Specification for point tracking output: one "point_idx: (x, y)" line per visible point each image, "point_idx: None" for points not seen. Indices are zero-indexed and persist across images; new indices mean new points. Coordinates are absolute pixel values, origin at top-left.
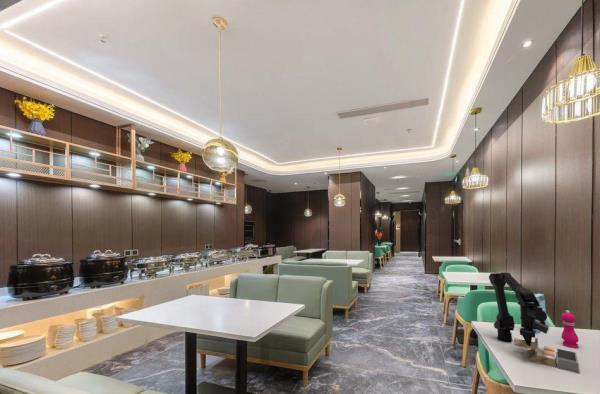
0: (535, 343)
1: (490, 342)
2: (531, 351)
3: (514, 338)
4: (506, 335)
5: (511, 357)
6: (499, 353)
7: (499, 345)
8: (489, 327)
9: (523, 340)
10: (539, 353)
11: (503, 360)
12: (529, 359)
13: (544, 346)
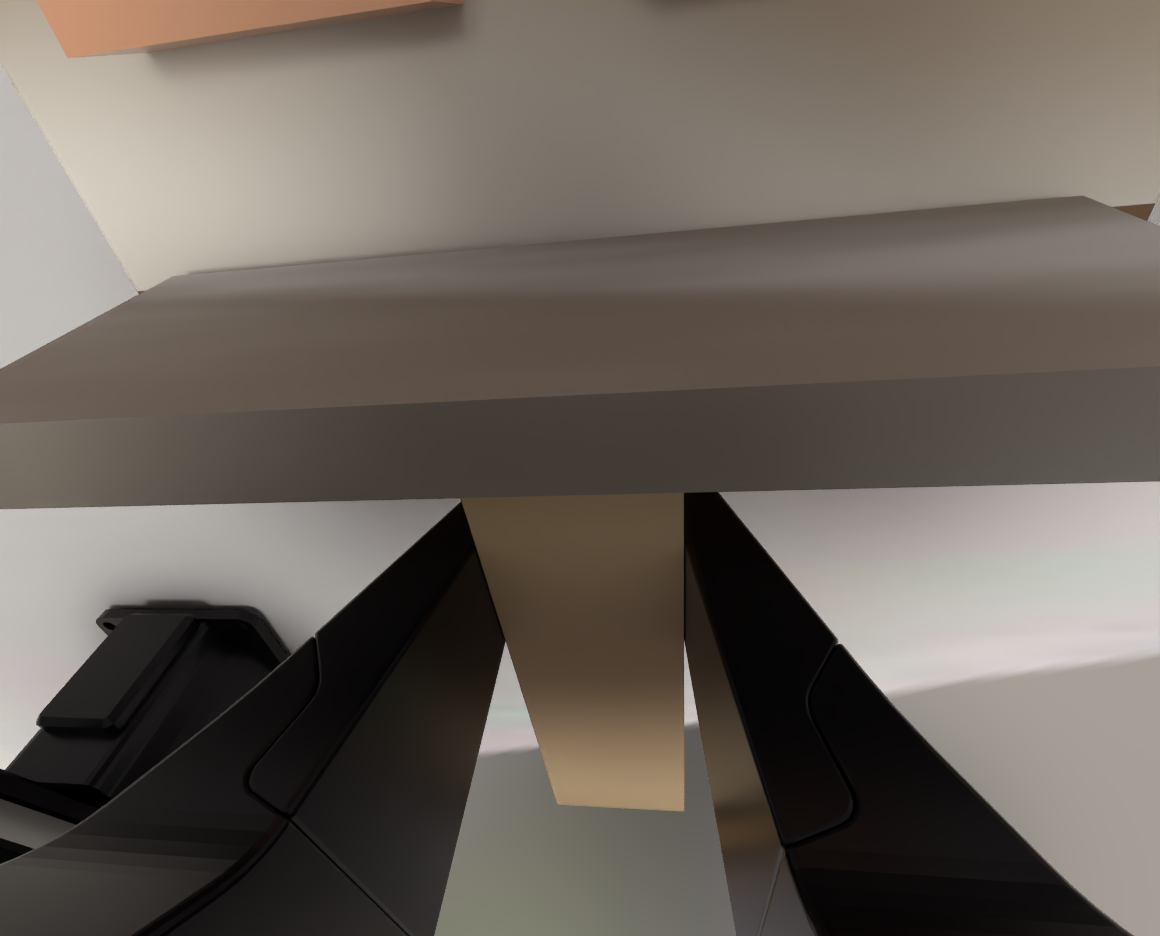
0: (999, 450)
1: (491, 736)
2: None
3: (595, 801)
4: (205, 725)
5: (927, 560)
6: None
7: (505, 679)
8: (16, 754)
9: (582, 692)
10: (966, 136)
11: (1145, 623)
12: None
13: (125, 31)
